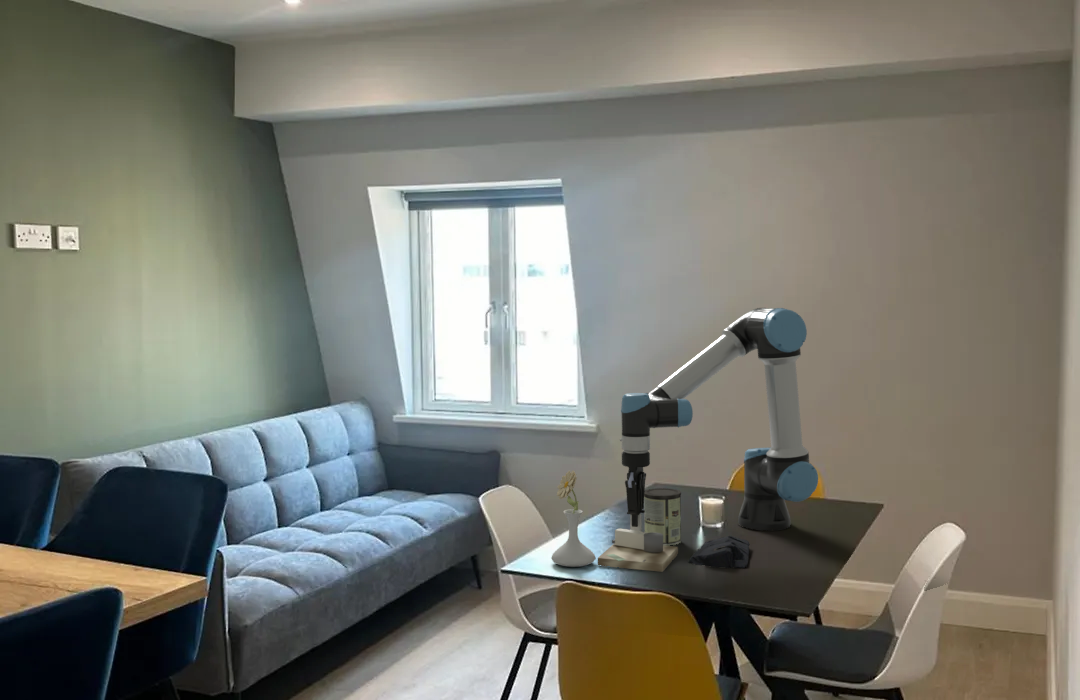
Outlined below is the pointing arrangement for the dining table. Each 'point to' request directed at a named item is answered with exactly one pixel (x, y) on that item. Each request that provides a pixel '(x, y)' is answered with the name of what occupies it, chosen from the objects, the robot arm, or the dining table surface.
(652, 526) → the coffee can
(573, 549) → the flower in vase
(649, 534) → the peg
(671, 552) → the board
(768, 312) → the robot arm
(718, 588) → the dining table surface
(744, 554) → the dark slate chunk
